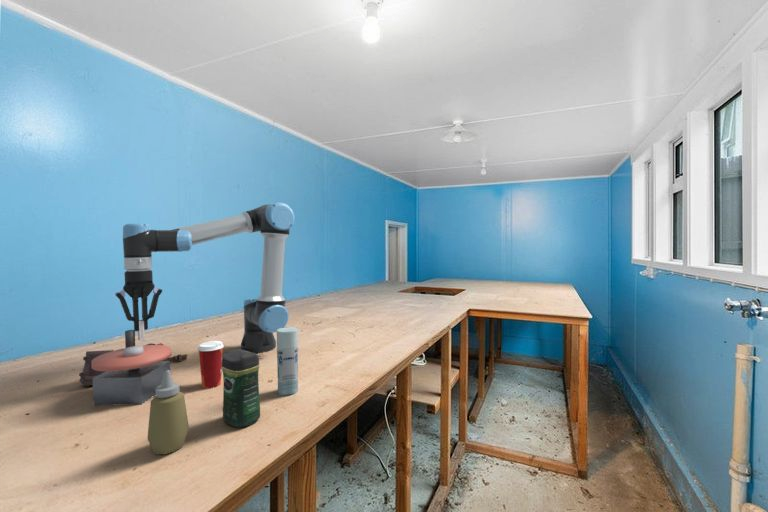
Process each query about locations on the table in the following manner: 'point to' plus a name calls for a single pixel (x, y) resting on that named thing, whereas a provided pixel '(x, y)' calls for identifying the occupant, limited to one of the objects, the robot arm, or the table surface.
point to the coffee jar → (240, 388)
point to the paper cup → (211, 363)
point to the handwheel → (131, 356)
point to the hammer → (90, 373)
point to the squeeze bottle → (167, 417)
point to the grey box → (128, 385)
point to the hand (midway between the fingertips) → (141, 339)
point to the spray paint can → (287, 360)
